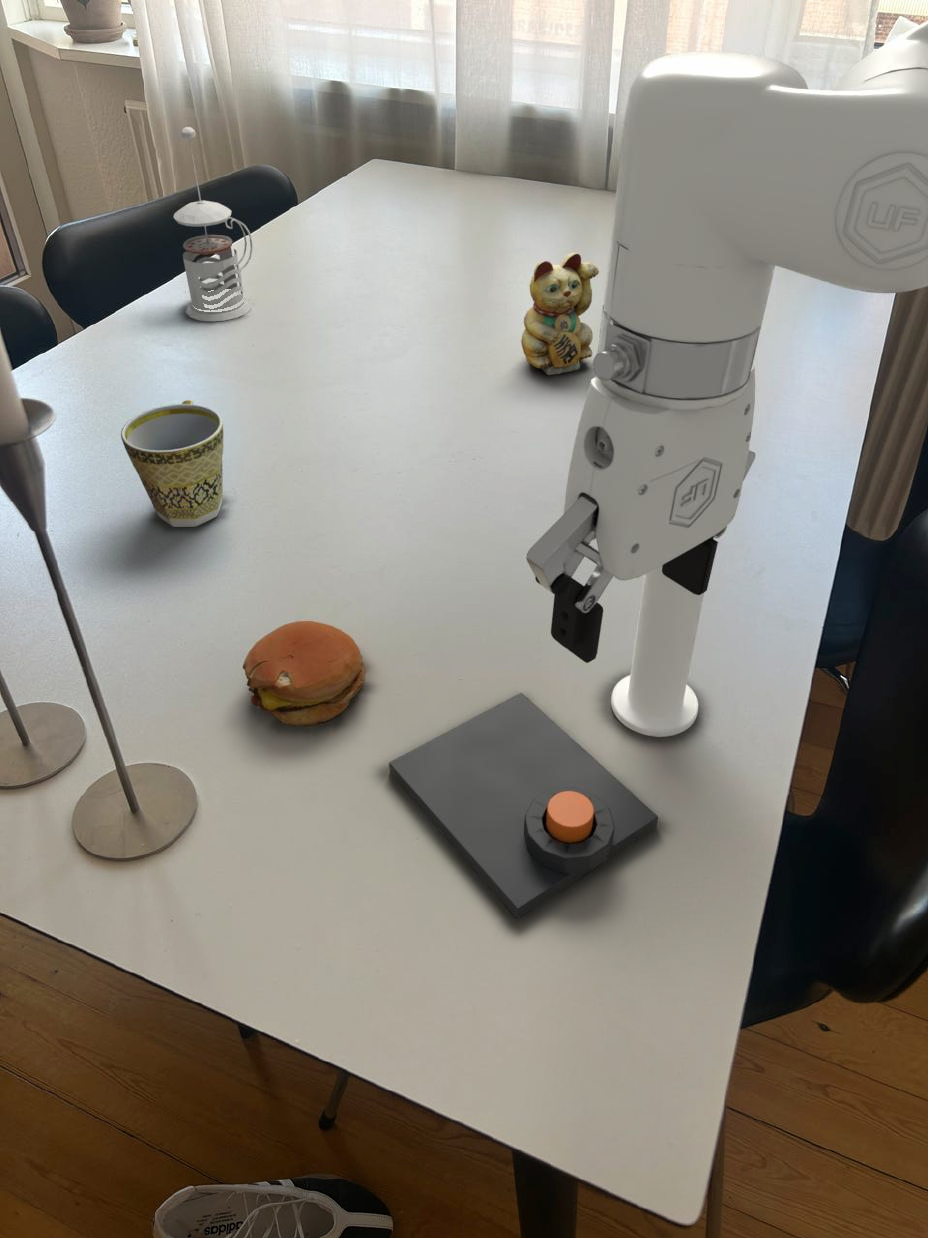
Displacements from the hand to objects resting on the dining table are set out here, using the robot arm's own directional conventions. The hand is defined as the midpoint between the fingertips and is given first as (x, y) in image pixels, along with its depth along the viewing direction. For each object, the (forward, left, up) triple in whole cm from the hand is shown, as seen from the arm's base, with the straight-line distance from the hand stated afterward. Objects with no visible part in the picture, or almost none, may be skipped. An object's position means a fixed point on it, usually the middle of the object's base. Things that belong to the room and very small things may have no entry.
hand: (630, 614), depth 58 cm
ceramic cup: (+58, +7, -20) cm, 62 cm away
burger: (+25, +11, -20) cm, 34 cm away
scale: (+5, +4, -20) cm, 21 cm away
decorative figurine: (+61, -46, -20) cm, 79 cm away
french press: (+106, -19, -20) cm, 110 cm away
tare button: (0, +4, -17) cm, 18 cm away
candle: (+6, -11, -20) cm, 24 cm away
